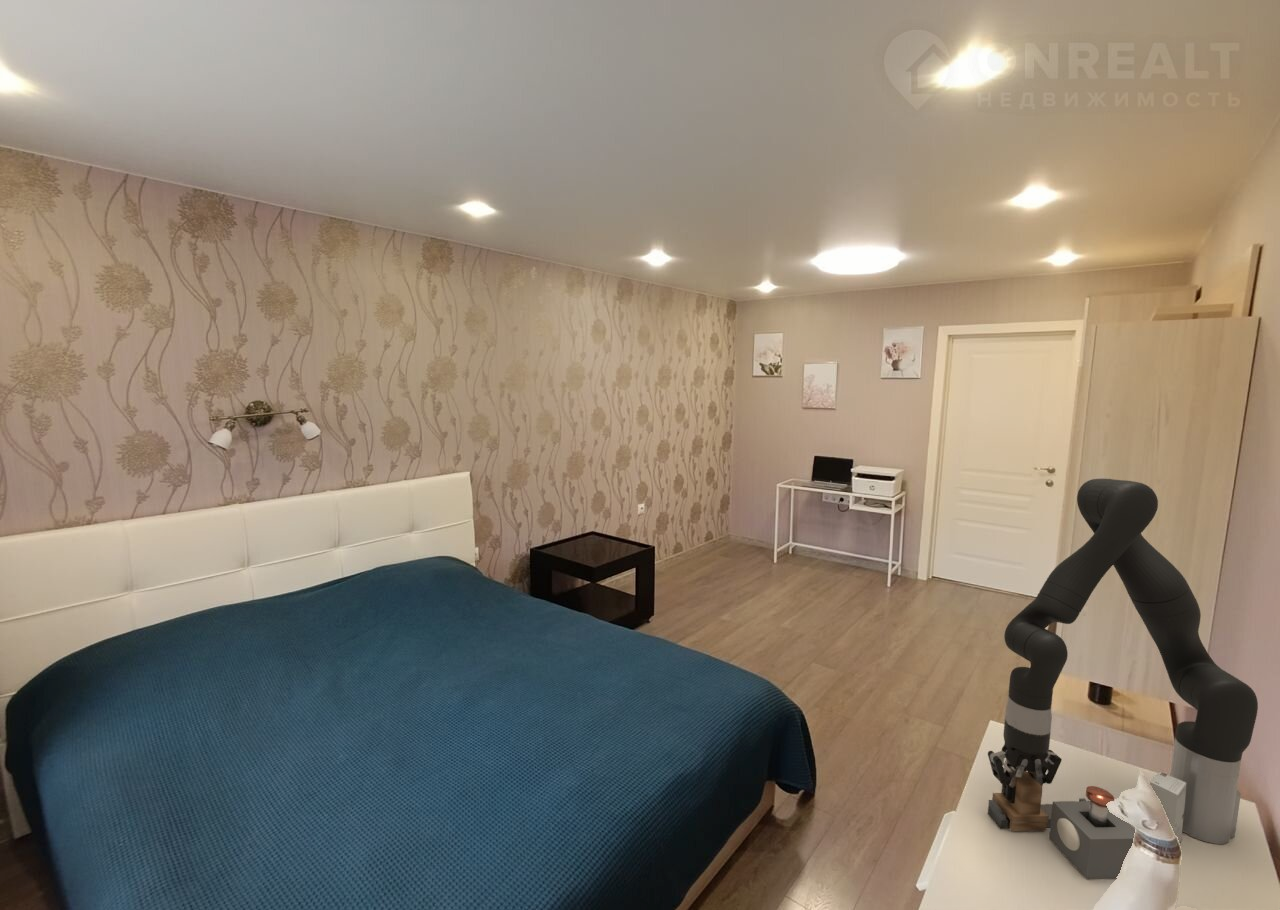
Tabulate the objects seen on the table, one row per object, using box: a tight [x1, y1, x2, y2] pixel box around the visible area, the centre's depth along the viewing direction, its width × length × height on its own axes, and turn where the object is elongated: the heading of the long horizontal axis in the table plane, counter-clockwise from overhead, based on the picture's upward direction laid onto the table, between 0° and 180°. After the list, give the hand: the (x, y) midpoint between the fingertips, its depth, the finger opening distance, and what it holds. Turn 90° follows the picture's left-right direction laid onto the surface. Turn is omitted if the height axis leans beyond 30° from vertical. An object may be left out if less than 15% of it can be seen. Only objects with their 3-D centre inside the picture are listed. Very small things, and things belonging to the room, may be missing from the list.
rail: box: [987, 798, 1087, 830], centre depth 113 cm, size 20×4×3 cm, turn 91°
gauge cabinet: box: [1048, 800, 1136, 880], centre depth 104 cm, size 10×9×8 cm
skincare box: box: [1149, 771, 1186, 843], centre depth 108 cm, size 6×4×12 cm
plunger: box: [1085, 785, 1115, 827], centre depth 103 cm, size 4×4×7 cm
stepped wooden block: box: [991, 767, 1049, 832], centre depth 113 cm, size 7×6×9 cm
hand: (1020, 799), depth 113 cm, fingers closed on stepped wooden block, 4 cm apart
